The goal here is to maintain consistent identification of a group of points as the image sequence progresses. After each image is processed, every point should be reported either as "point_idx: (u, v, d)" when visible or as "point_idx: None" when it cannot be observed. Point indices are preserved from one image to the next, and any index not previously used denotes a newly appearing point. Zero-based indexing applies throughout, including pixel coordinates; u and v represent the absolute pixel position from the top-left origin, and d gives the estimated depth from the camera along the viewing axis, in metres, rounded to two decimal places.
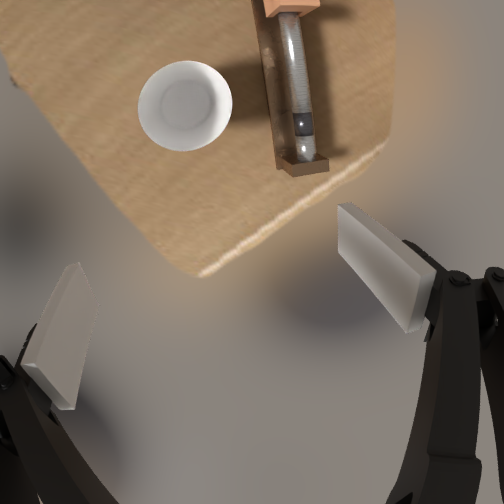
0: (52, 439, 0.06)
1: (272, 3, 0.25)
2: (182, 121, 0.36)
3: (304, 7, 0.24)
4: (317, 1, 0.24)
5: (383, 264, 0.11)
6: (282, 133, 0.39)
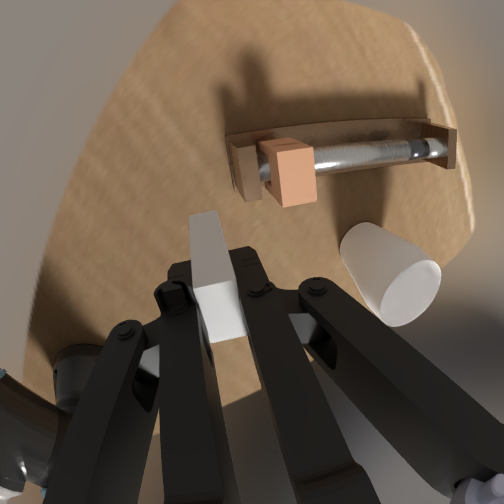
0: (208, 387, 0.07)
1: None
2: None
3: None
4: (306, 150, 0.23)
5: None
6: None
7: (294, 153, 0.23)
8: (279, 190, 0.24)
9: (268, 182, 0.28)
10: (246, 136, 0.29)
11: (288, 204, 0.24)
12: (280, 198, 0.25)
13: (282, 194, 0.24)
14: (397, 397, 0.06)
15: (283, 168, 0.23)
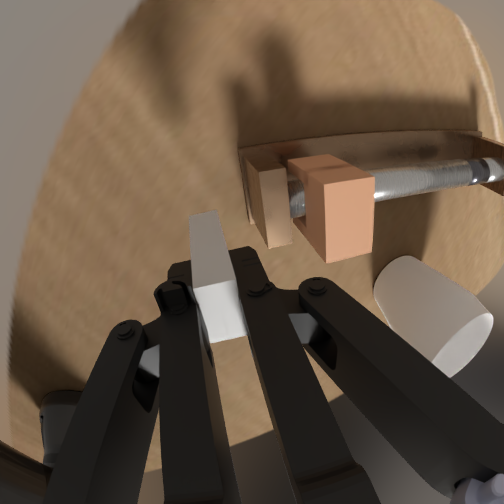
0: (208, 387, 0.07)
1: None
2: None
3: None
4: (365, 182, 0.15)
5: None
6: None
7: (349, 186, 0.15)
8: (322, 238, 0.16)
9: (299, 217, 0.20)
10: (267, 149, 0.21)
11: (334, 259, 0.17)
12: (322, 249, 0.17)
13: (327, 245, 0.16)
14: (397, 397, 0.06)
15: (331, 208, 0.15)
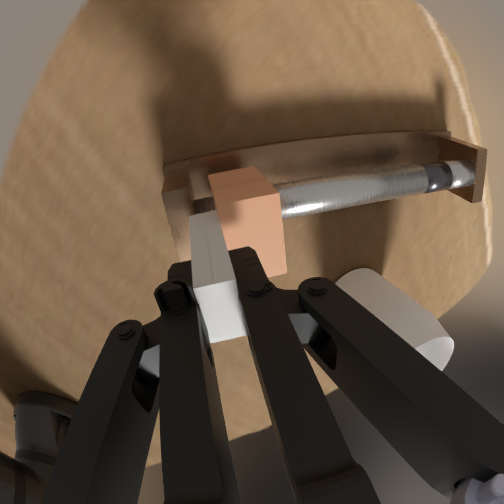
0: (208, 387, 0.07)
1: None
2: None
3: None
4: (267, 199, 0.14)
5: None
6: None
7: (247, 205, 0.14)
8: None
9: None
10: (191, 165, 0.21)
11: None
12: None
13: None
14: (397, 397, 0.06)
15: (229, 229, 0.15)
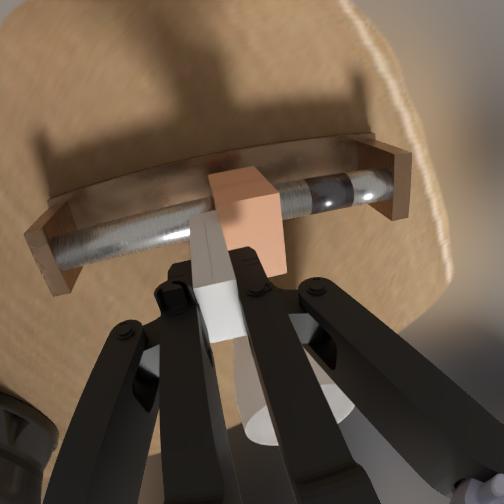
0: (208, 387, 0.07)
1: None
2: None
3: None
4: (267, 199, 0.14)
5: None
6: None
7: (247, 204, 0.14)
8: None
9: None
10: (69, 198, 0.20)
11: None
12: None
13: None
14: (397, 397, 0.06)
15: (229, 229, 0.15)
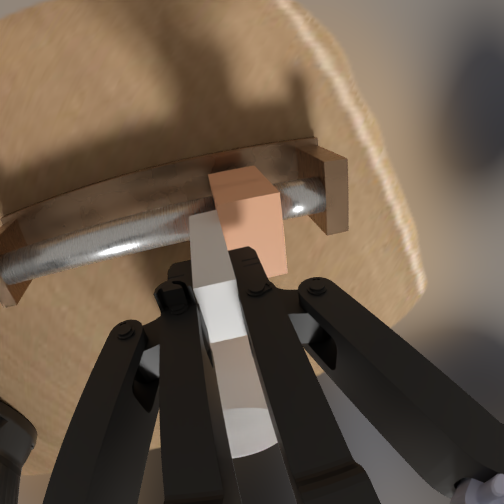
0: (208, 387, 0.07)
1: None
2: None
3: None
4: (268, 199, 0.14)
5: None
6: None
7: (248, 204, 0.14)
8: None
9: None
10: (18, 216, 0.19)
11: None
12: None
13: None
14: (397, 397, 0.06)
15: (229, 229, 0.15)
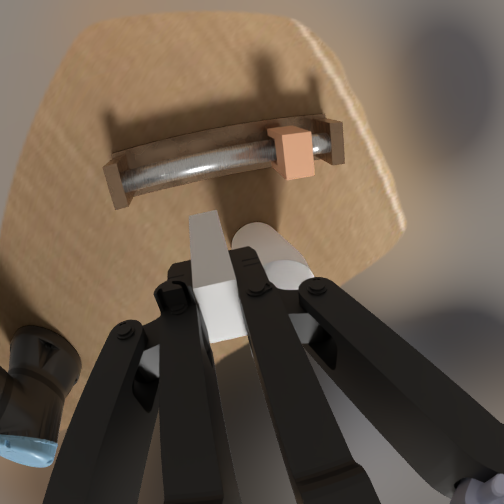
0: (208, 387, 0.07)
1: None
2: None
3: None
4: (305, 134, 0.28)
5: None
6: None
7: (296, 136, 0.28)
8: (284, 166, 0.29)
9: (274, 162, 0.33)
10: (127, 152, 0.33)
11: (291, 177, 0.30)
12: (284, 173, 0.30)
13: (286, 169, 0.29)
14: (397, 397, 0.06)
15: (287, 148, 0.28)
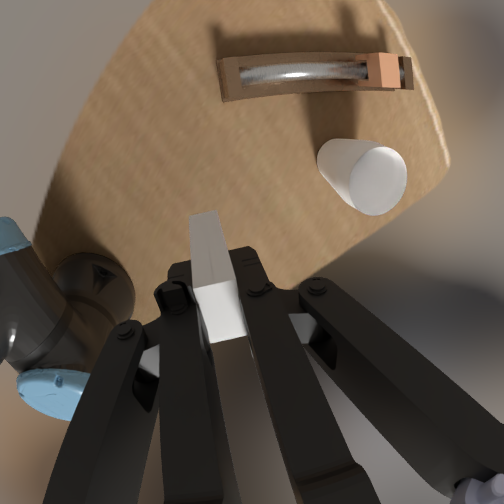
0: (208, 387, 0.07)
1: None
2: None
3: None
4: (394, 55, 0.28)
5: None
6: None
7: (388, 55, 0.28)
8: (379, 77, 0.30)
9: None
10: None
11: (385, 86, 0.30)
12: (379, 82, 0.30)
13: (382, 78, 0.30)
14: (397, 397, 0.06)
15: (382, 62, 0.29)
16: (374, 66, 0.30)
